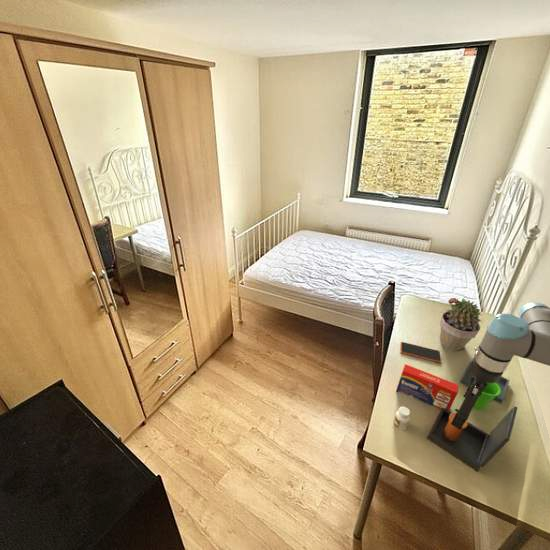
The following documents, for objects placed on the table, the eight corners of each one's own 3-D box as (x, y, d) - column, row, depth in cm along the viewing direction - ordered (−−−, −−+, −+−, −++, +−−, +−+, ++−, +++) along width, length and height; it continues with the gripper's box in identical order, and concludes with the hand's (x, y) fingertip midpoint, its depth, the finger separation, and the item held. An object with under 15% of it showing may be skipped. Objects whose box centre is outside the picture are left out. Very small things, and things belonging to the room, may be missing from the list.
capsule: (461, 434, 98) (469, 419, 94) (456, 445, 95) (465, 430, 91) (444, 424, 101) (452, 409, 97) (439, 434, 98) (447, 420, 94)
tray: (507, 383, 118) (509, 380, 117) (501, 404, 110) (503, 400, 109) (468, 364, 126) (470, 361, 125) (459, 382, 118) (461, 378, 117)
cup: (494, 415, 105) (507, 395, 100) (469, 415, 105) (481, 395, 100) (479, 394, 113) (490, 374, 108) (456, 394, 113) (466, 374, 108)
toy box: (448, 406, 108) (458, 384, 103) (447, 414, 105) (457, 392, 100) (398, 384, 117) (404, 363, 111) (395, 391, 114) (402, 370, 108)
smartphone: (400, 342, 138) (400, 341, 137) (439, 352, 133) (439, 350, 132) (400, 353, 132) (400, 351, 131) (441, 363, 127) (441, 362, 126)
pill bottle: (391, 418, 103) (396, 404, 100) (403, 419, 103) (408, 405, 99) (395, 430, 100) (400, 416, 96) (408, 431, 99) (413, 417, 96)
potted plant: (486, 353, 133) (508, 308, 120) (449, 360, 129) (469, 314, 116) (456, 328, 148) (473, 286, 136) (423, 333, 144) (437, 291, 132)
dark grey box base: (426, 439, 97) (428, 433, 95) (439, 413, 106) (442, 407, 104) (476, 473, 88) (480, 467, 87) (486, 441, 97) (490, 435, 95)
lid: (506, 438, 78) (509, 440, 78) (514, 405, 87) (517, 407, 87) (479, 465, 87) (482, 467, 86) (489, 433, 95) (492, 435, 95)
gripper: (483, 335, 91) (460, 382, 102) (461, 381, 76) (436, 430, 86) (512, 347, 87) (484, 394, 98) (494, 399, 71) (464, 448, 82)
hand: (462, 411), depth 92 cm, fingers open, 13 cm apart
